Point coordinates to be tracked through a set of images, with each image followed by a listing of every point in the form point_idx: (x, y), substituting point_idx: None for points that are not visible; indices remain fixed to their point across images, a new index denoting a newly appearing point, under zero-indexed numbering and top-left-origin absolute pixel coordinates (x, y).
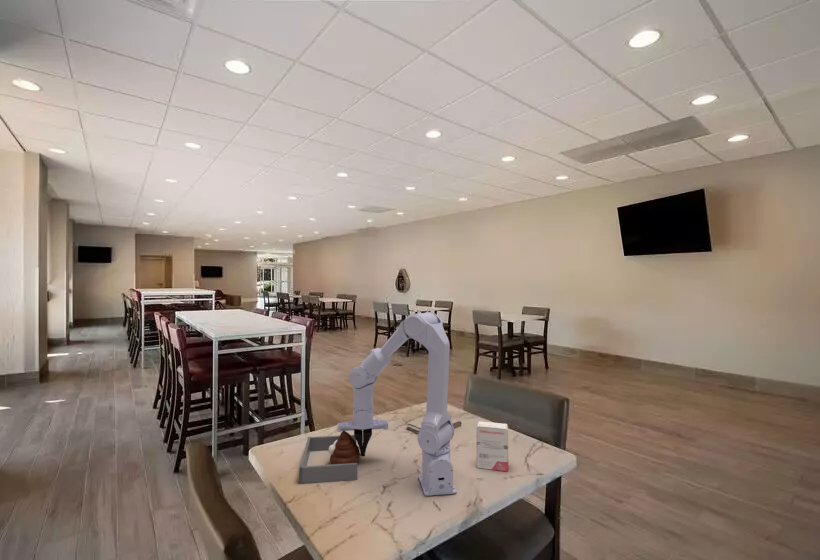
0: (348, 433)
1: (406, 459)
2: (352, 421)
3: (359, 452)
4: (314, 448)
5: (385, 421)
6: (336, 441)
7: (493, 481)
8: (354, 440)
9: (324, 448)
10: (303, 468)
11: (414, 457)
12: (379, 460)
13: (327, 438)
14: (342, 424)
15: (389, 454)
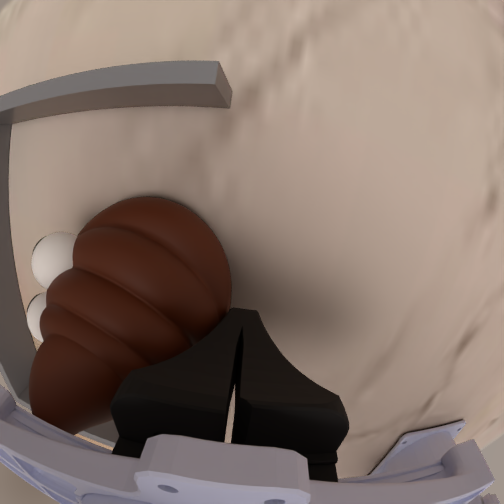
0: (85, 416)
1: (448, 326)
2: (54, 469)
3: (220, 321)
4: (14, 120)
5: (478, 485)
6: (39, 283)
7: (498, 426)
8: (161, 356)
9: (49, 113)
10: (24, 404)
11: (478, 313)
12: (339, 314)
13: (20, 108)
14: (5, 457)
15: (412, 258)
